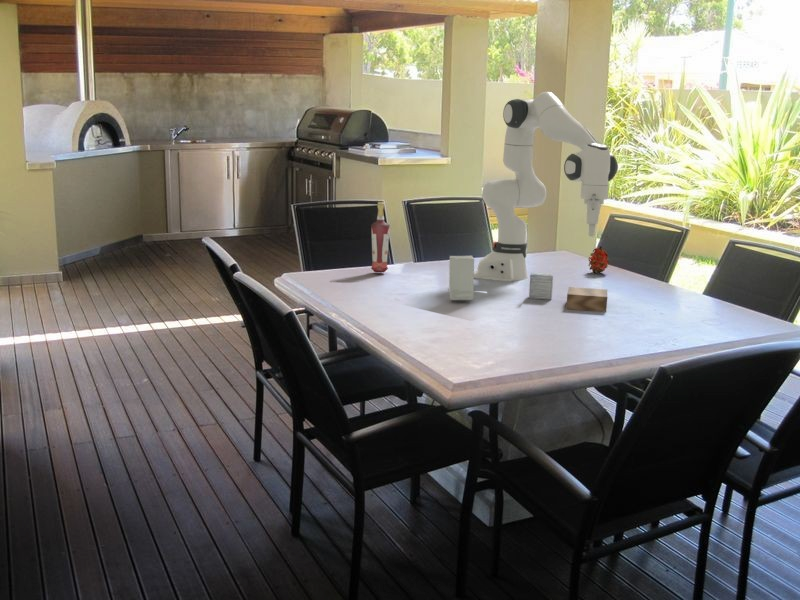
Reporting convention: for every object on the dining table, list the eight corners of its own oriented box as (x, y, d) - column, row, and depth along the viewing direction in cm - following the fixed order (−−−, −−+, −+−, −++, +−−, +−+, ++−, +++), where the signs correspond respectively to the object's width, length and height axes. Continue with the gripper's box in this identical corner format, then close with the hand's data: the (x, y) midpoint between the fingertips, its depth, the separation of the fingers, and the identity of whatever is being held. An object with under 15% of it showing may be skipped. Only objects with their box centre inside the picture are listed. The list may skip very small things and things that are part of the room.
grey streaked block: (552, 297, 300) (553, 273, 298) (551, 300, 295) (552, 275, 294) (529, 296, 301) (531, 272, 299) (528, 298, 297) (530, 274, 295)
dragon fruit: (584, 272, 352) (586, 243, 350) (605, 272, 352) (607, 244, 350) (589, 275, 344) (591, 246, 341) (610, 276, 344) (612, 247, 341)
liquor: (388, 273, 339) (389, 203, 333) (370, 272, 339) (371, 203, 333) (388, 270, 346) (390, 201, 340) (370, 269, 346) (372, 201, 340)
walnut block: (566, 308, 282) (567, 294, 281) (568, 301, 294) (568, 286, 293) (606, 311, 279) (607, 296, 278) (606, 303, 292) (607, 289, 290)
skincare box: (471, 296, 298) (473, 255, 294) (473, 300, 292) (475, 258, 289) (447, 296, 297) (449, 254, 294) (449, 300, 291) (451, 257, 288)
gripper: (604, 196, 268) (601, 239, 271) (604, 191, 288) (601, 232, 291) (583, 195, 270) (581, 238, 272) (585, 190, 289) (582, 231, 292)
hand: (591, 235), depth 282 cm, fingers open, 4 cm apart
